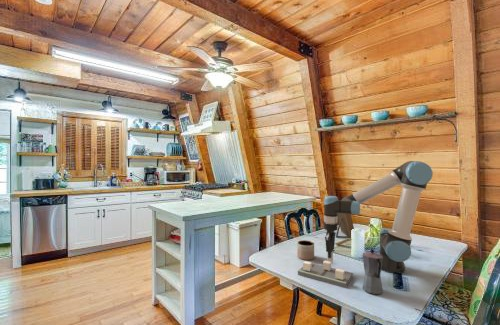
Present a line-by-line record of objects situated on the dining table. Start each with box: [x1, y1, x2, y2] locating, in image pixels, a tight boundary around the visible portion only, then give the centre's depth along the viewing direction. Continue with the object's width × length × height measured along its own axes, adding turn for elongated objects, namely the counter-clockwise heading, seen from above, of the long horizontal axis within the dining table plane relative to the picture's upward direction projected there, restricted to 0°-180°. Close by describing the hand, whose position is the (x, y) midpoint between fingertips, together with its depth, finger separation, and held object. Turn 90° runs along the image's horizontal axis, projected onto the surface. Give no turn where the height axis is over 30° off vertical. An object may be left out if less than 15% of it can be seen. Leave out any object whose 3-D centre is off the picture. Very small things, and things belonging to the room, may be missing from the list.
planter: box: [296, 240, 315, 261], centre depth 171 cm, size 11×11×10 cm
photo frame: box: [335, 213, 355, 240], centre depth 219 cm, size 15×22×25 cm
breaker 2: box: [335, 268, 346, 280], centre depth 137 cm, size 4×3×4 cm
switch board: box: [297, 262, 354, 289], centre depth 145 cm, size 26×15×2 cm, turn 56°
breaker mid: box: [322, 260, 332, 271], centre depth 148 cm, size 4×3×4 cm
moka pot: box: [362, 249, 383, 295], centre depth 128 cm, size 10×15×20 cm, turn 2°
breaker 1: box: [302, 260, 313, 271], centre depth 147 cm, size 4×3×4 cm
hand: (330, 262), depth 153 cm, fingers closed
